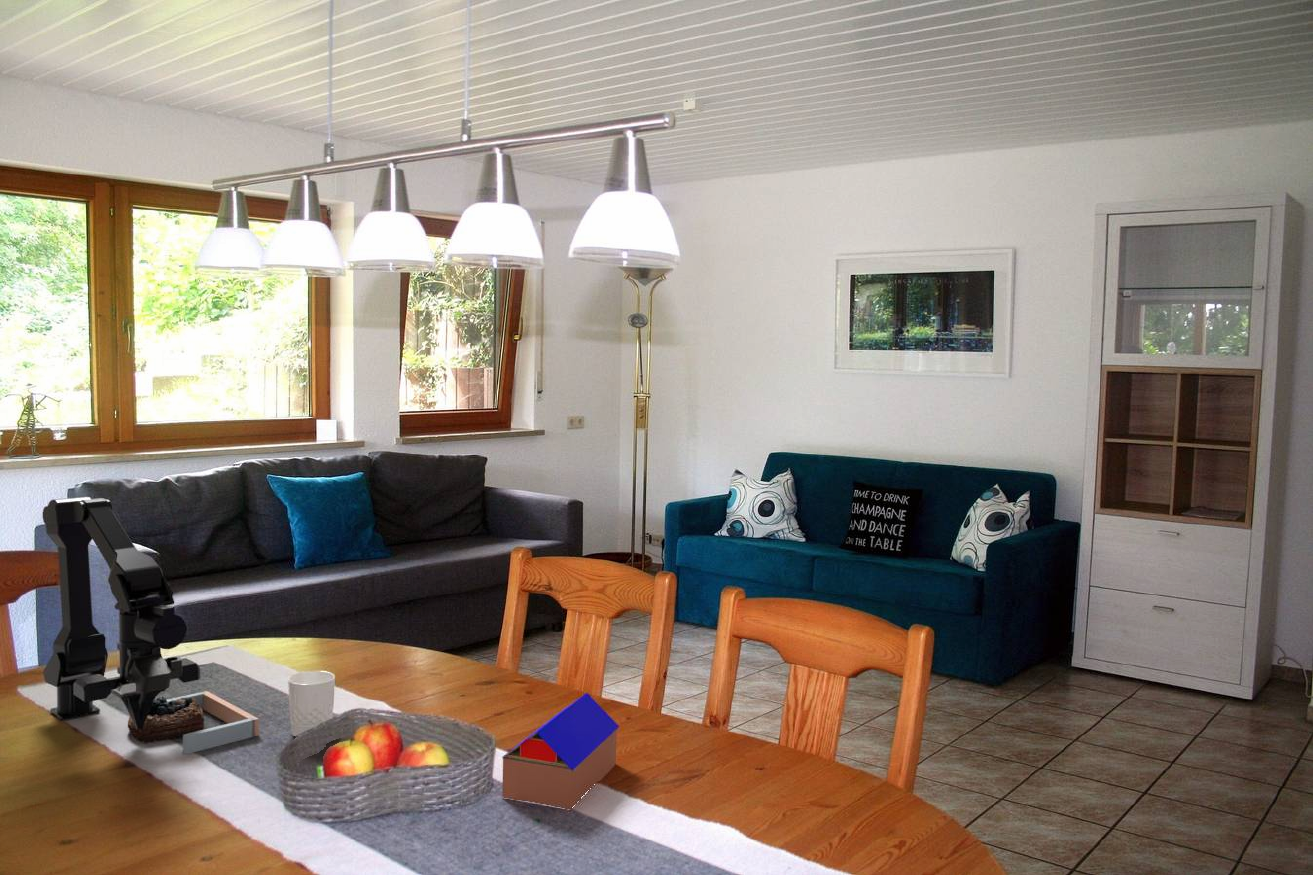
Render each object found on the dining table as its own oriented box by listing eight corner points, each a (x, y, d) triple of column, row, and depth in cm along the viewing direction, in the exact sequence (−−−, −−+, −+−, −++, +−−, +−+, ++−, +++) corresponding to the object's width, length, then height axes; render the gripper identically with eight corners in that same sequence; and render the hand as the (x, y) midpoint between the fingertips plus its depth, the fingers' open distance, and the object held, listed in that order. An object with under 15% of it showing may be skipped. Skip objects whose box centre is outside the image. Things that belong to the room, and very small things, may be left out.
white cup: (320, 742, 179) (320, 686, 178) (279, 737, 180) (279, 681, 180) (342, 726, 187) (343, 672, 186) (303, 722, 188) (303, 668, 187)
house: (499, 800, 158) (500, 726, 157) (552, 754, 177) (554, 687, 176) (571, 813, 155) (573, 737, 154) (618, 764, 174) (620, 697, 173)
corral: (137, 722, 186) (137, 706, 185) (206, 706, 195) (206, 690, 195) (186, 754, 172) (186, 736, 172) (258, 735, 181) (258, 718, 181)
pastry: (210, 734, 182) (210, 701, 181) (135, 747, 175) (134, 713, 174) (195, 715, 191) (195, 684, 190) (123, 727, 184) (123, 695, 183)
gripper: (96, 658, 162) (97, 755, 164) (214, 638, 176) (214, 727, 177) (71, 644, 170) (72, 736, 171) (186, 625, 184) (186, 711, 185)
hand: (139, 728), depth 176 cm, fingers closed
